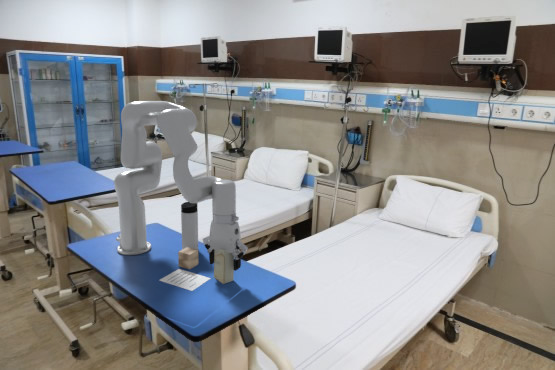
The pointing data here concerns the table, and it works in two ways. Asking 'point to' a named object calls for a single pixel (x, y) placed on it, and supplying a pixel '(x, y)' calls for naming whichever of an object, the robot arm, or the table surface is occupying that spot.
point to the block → (188, 258)
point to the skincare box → (223, 266)
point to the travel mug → (189, 225)
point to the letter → (185, 279)
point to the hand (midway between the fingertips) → (224, 266)
